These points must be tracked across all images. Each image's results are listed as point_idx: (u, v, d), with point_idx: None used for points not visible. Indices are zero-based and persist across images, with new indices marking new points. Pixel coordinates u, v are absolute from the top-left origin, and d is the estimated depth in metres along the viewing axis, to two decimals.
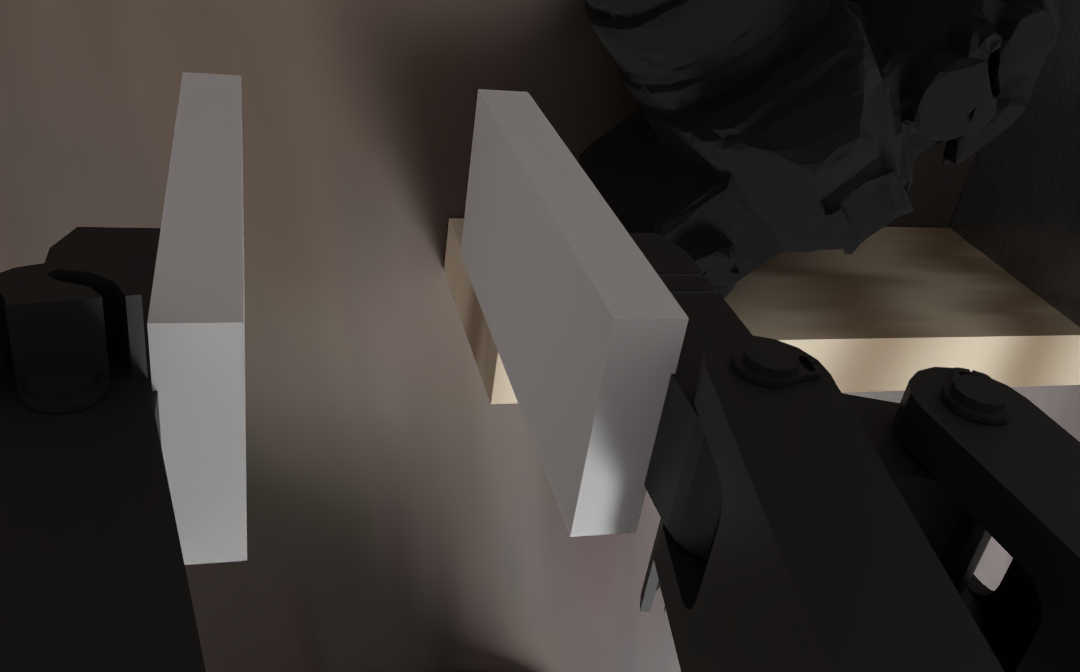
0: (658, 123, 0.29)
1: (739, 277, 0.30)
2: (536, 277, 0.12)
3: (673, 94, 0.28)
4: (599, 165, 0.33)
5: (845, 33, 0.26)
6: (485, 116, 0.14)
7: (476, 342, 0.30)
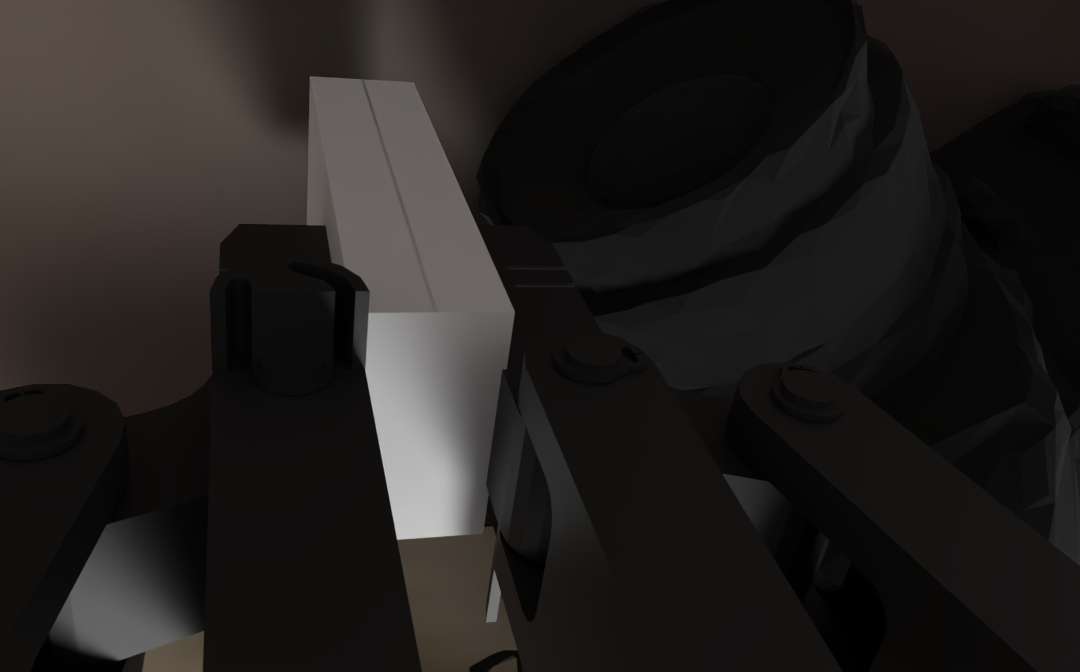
0: None
1: None
2: None
3: None
4: None
5: (1015, 364, 0.13)
6: None
7: None
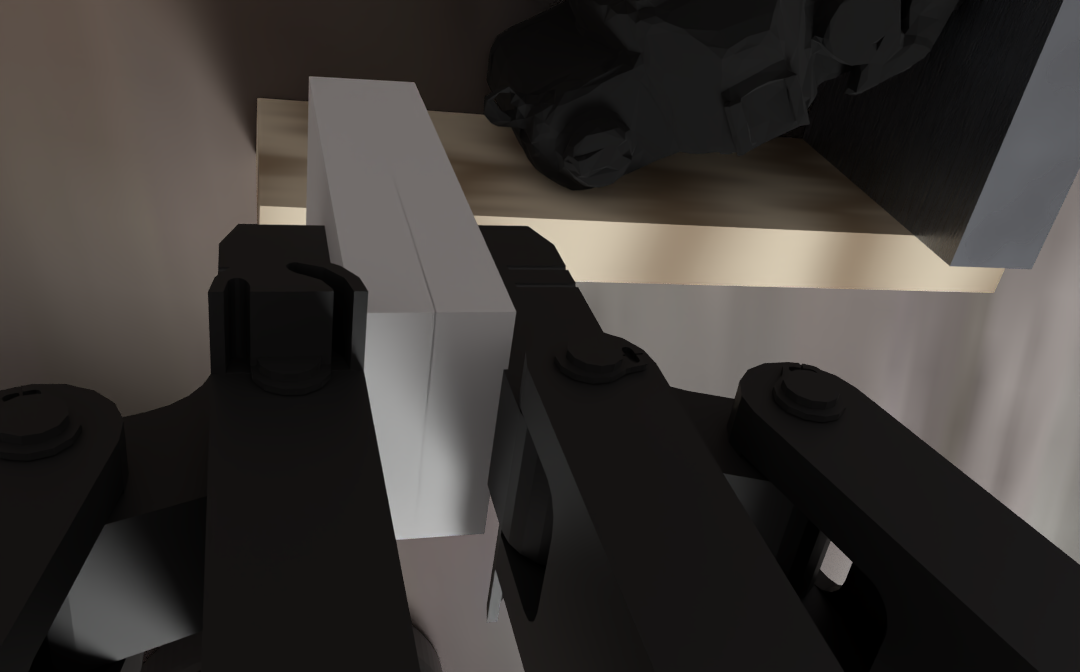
0: None
1: (631, 169, 0.30)
2: None
3: None
4: (512, 45, 0.32)
5: None
6: None
7: None
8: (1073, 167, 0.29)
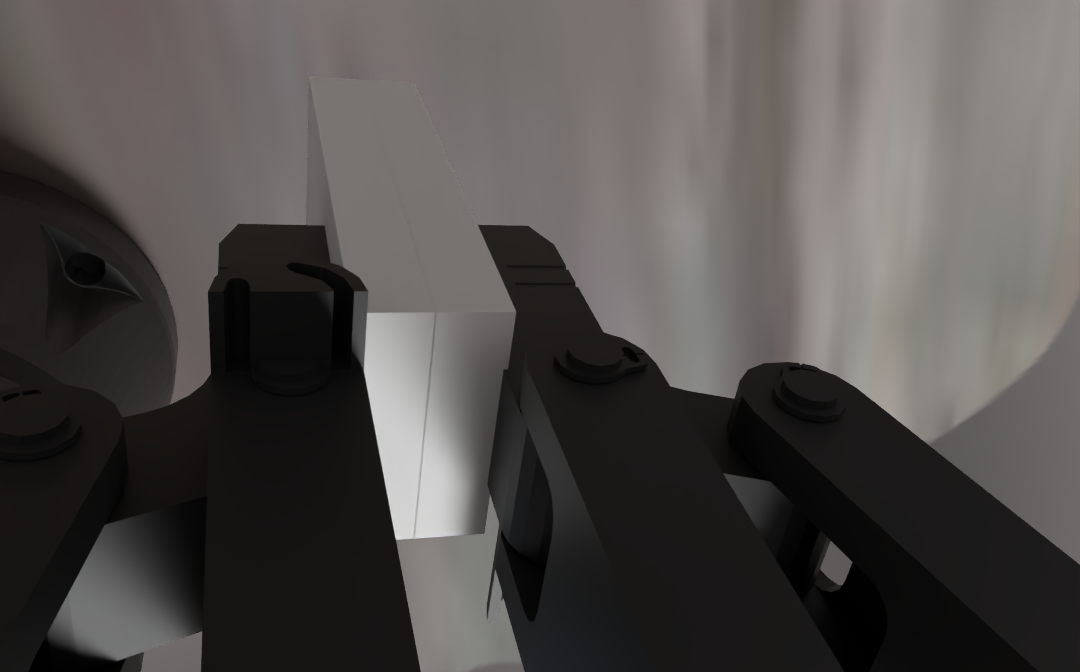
0: None
1: None
2: None
3: None
4: None
5: None
6: None
7: None
8: None
